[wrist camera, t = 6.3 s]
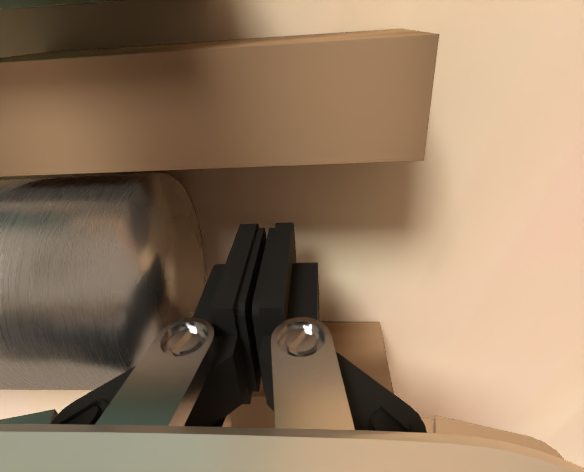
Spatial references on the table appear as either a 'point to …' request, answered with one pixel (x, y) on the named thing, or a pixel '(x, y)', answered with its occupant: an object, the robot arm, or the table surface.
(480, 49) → the table surface
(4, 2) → the teal V-block
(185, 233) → the steel axle
